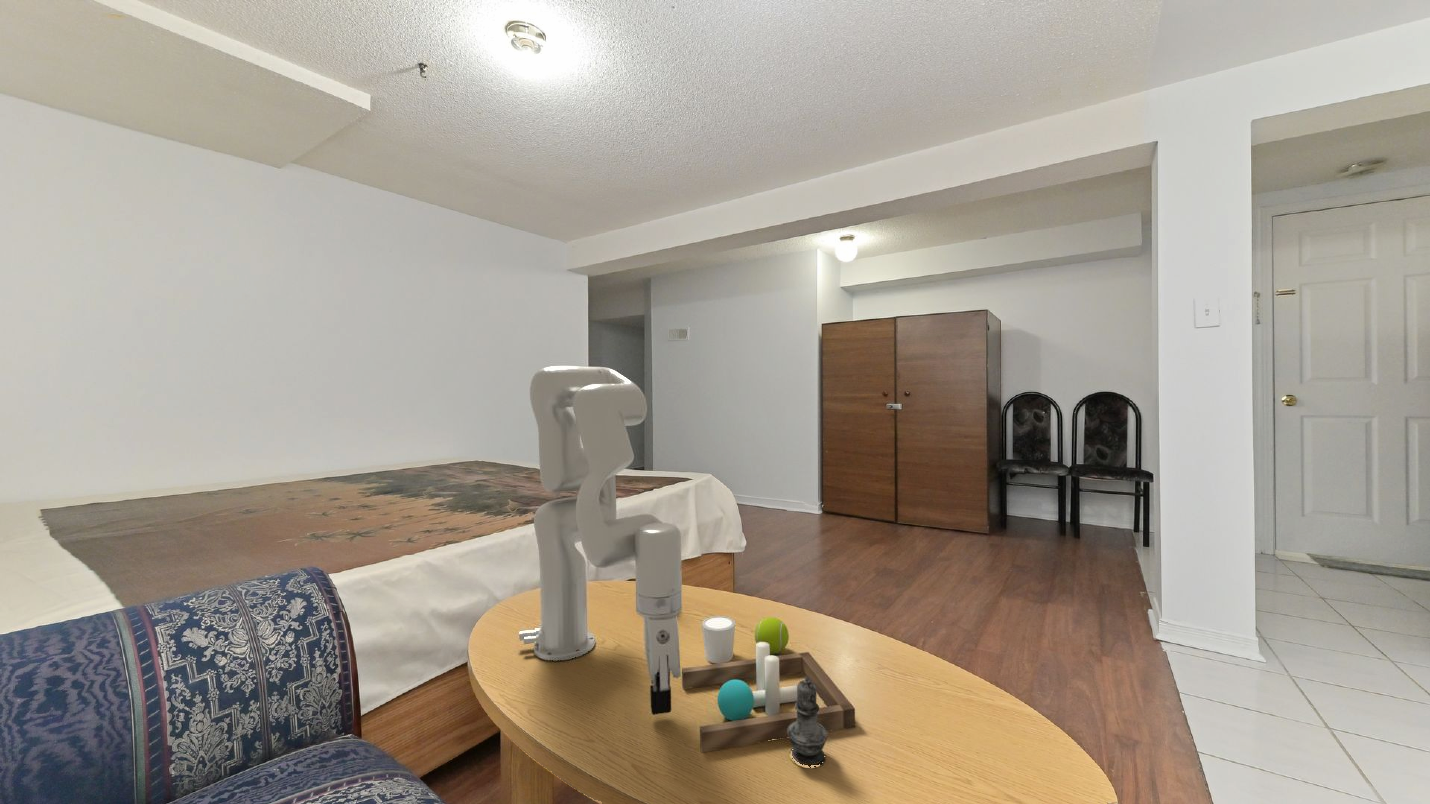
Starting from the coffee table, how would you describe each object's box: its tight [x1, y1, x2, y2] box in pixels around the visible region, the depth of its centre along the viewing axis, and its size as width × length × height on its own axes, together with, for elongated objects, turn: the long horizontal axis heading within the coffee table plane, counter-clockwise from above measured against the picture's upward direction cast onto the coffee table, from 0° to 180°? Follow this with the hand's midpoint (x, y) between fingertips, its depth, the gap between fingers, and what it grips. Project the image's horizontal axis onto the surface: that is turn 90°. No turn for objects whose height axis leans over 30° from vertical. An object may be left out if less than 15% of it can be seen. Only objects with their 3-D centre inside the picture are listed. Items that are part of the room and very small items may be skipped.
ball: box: [717, 680, 754, 722], centre depth 87 cm, size 6×6×6 cm
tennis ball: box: [754, 616, 790, 655], centre depth 109 cm, size 7×7×7 cm
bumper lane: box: [681, 651, 856, 753], centre depth 91 cm, size 25×19×3 cm
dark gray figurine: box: [787, 676, 829, 768], centre depth 78 cm, size 6×6×12 cm
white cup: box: [701, 615, 736, 664], centre depth 108 cm, size 7×7×7 cm
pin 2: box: [764, 654, 781, 716], centre depth 89 cm, size 2×2×9 cm
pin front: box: [752, 684, 798, 708], centre depth 92 cm, size 2×2×9 cm
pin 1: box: [755, 642, 771, 691], centre depth 94 cm, size 2×2×9 cm
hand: (661, 710), depth 87 cm, fingers closed
